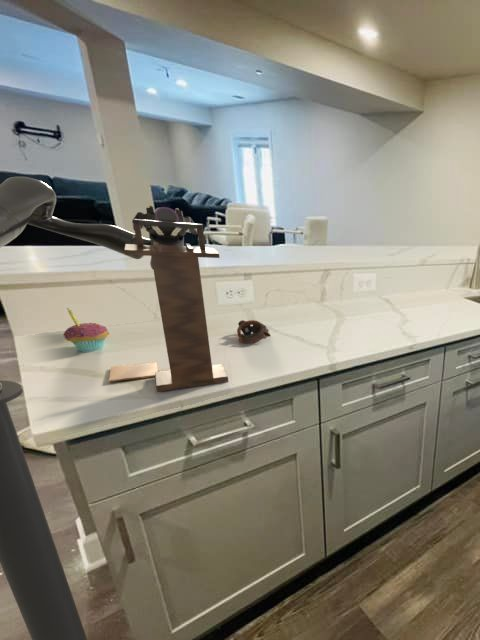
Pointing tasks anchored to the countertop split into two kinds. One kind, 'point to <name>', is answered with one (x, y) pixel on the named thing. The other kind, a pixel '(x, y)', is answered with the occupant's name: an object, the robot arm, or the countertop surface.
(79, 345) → the cupcake
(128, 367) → the cork coaster
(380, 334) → the countertop surface
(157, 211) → the plum cup
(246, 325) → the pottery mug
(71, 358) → the countertop surface
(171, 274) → the stand
